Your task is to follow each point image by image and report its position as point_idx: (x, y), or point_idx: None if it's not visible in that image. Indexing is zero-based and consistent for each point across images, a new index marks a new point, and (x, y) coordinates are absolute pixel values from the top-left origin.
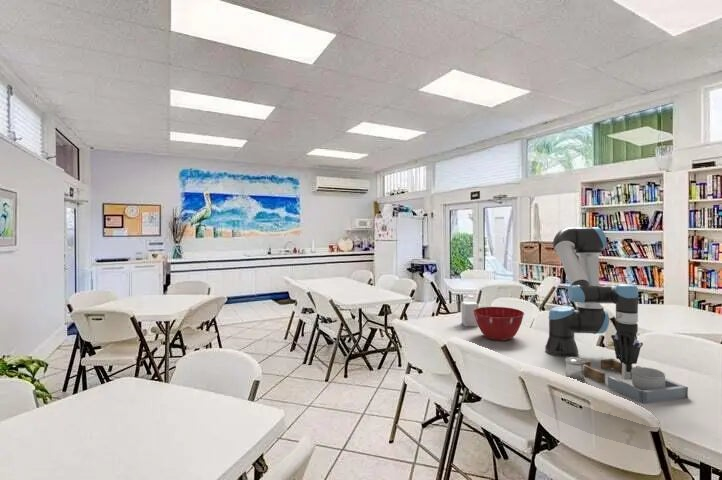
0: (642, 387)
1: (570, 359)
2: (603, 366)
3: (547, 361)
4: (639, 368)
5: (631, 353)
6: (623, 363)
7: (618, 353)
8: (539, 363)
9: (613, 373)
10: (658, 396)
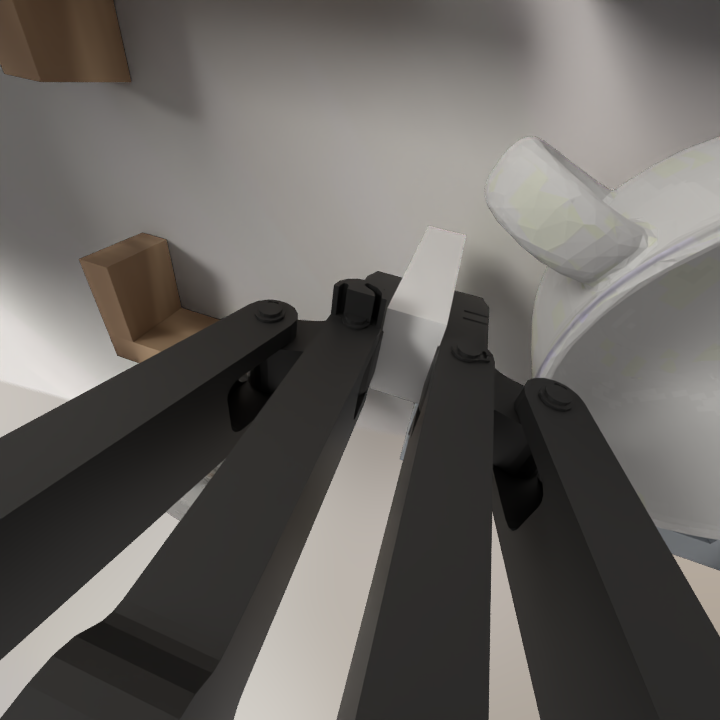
0: (667, 423)
1: (182, 510)
2: (101, 81)
3: (29, 316)
4: (605, 308)
5: (536, 678)
6: (395, 394)
7: (241, 436)
8: (70, 370)
9: (231, 95)
10: None
